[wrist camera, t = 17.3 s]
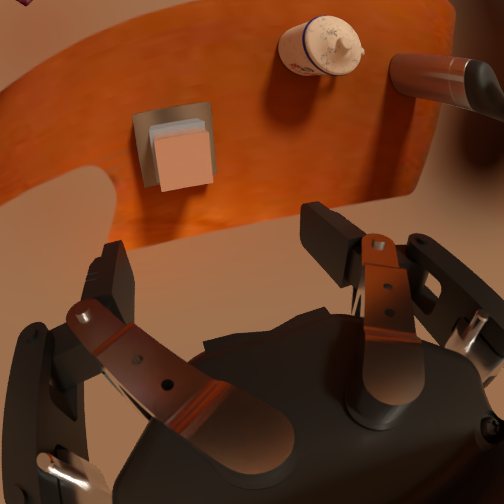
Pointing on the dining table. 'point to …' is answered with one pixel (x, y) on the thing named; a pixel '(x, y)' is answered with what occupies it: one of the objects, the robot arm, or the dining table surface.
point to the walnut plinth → (160, 117)
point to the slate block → (168, 128)
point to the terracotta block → (183, 158)
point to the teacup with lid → (321, 47)
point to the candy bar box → (24, 2)
